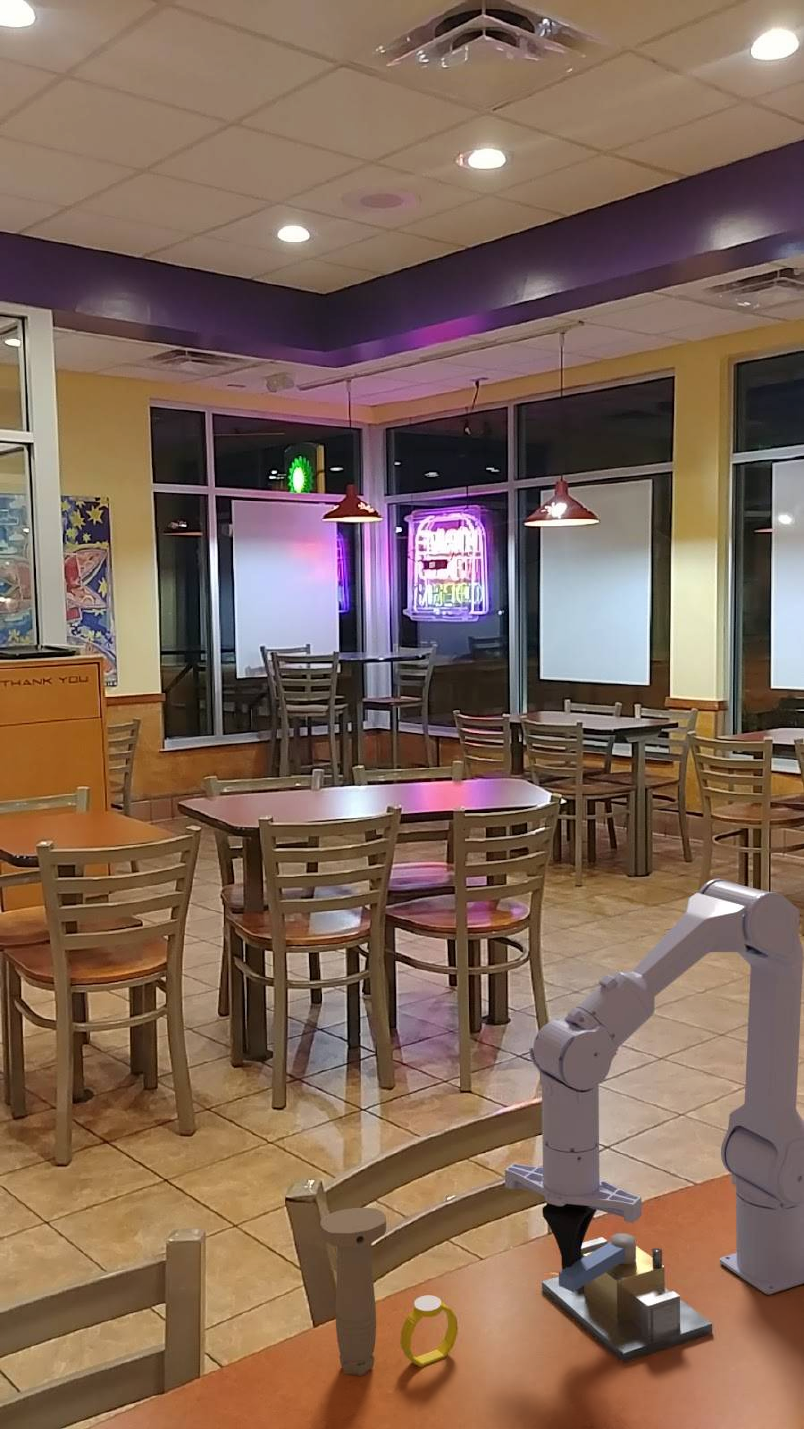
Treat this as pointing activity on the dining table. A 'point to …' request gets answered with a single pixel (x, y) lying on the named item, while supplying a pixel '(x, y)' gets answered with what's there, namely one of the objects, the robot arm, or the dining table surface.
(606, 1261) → the lever
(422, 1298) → the watch
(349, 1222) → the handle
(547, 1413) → the dining table surface
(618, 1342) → the valve
